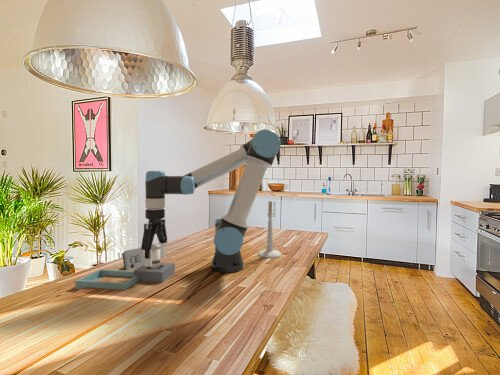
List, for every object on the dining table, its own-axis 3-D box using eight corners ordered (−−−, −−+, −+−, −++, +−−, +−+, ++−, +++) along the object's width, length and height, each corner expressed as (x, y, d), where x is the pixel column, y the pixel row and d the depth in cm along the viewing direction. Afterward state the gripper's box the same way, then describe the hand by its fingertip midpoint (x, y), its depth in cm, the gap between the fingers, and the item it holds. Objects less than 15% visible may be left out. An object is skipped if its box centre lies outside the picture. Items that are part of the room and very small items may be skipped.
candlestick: (279, 252, 163) (280, 199, 163) (283, 258, 151) (283, 201, 150) (257, 252, 163) (258, 199, 162) (258, 258, 150) (259, 201, 149)
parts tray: (144, 279, 117) (144, 271, 117) (125, 292, 103) (125, 283, 103) (100, 276, 120) (100, 269, 120) (75, 289, 106) (75, 280, 106)
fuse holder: (175, 274, 123) (175, 263, 123) (162, 285, 111) (162, 272, 111) (148, 273, 124) (148, 261, 124) (133, 283, 112) (133, 270, 112)
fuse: (162, 275, 119) (162, 244, 119) (157, 278, 115) (157, 246, 115) (152, 274, 120) (152, 243, 119) (148, 277, 116) (147, 246, 115)
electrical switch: (127, 272, 125) (126, 251, 126) (121, 271, 129) (120, 250, 129) (146, 267, 133) (145, 247, 133) (140, 266, 136) (139, 246, 136)
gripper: (159, 205, 129) (159, 254, 129) (131, 211, 106) (131, 270, 106) (175, 206, 128) (175, 255, 128) (150, 212, 105) (150, 271, 105)
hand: (155, 262), depth 117 cm, fingers open, 11 cm apart
